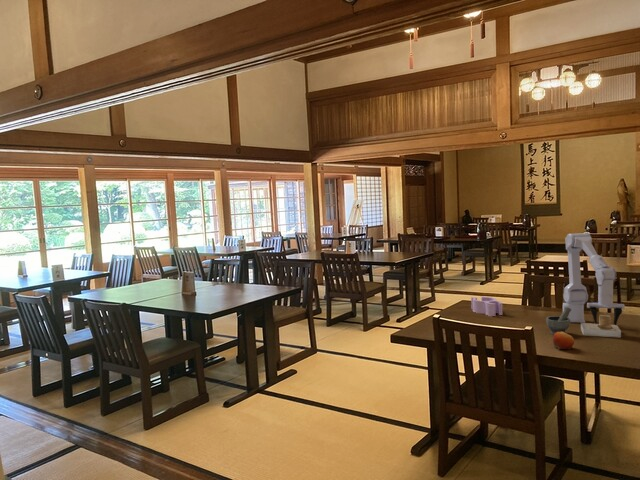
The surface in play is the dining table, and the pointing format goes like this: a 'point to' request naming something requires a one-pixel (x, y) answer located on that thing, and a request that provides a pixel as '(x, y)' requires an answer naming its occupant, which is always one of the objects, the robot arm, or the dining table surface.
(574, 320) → the robot arm
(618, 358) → the dining table surface
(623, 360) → the dining table surface
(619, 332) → the white rectangular slab
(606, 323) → the peg
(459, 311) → the dining table surface
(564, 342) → the fruit
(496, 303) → the clip
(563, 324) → the mortar and pestle
